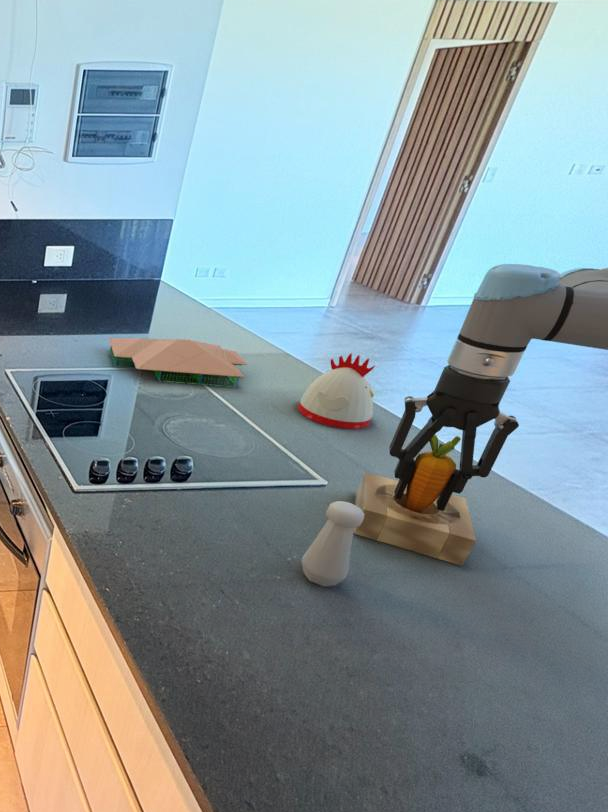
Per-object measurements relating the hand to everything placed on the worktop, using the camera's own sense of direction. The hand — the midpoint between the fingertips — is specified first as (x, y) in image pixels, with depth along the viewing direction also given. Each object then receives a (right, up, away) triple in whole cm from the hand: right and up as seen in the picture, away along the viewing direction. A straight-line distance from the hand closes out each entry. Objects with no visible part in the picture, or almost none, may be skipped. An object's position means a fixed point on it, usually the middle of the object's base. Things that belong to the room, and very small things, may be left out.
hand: (418, 500), depth 102 cm
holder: (0, -5, +3) cm, 6 cm away
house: (-10, +27, +67) cm, 73 cm away
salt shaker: (-22, -11, -8) cm, 26 cm away
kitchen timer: (+15, +14, +41) cm, 46 cm away
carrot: (0, -3, +1) cm, 3 cm away
